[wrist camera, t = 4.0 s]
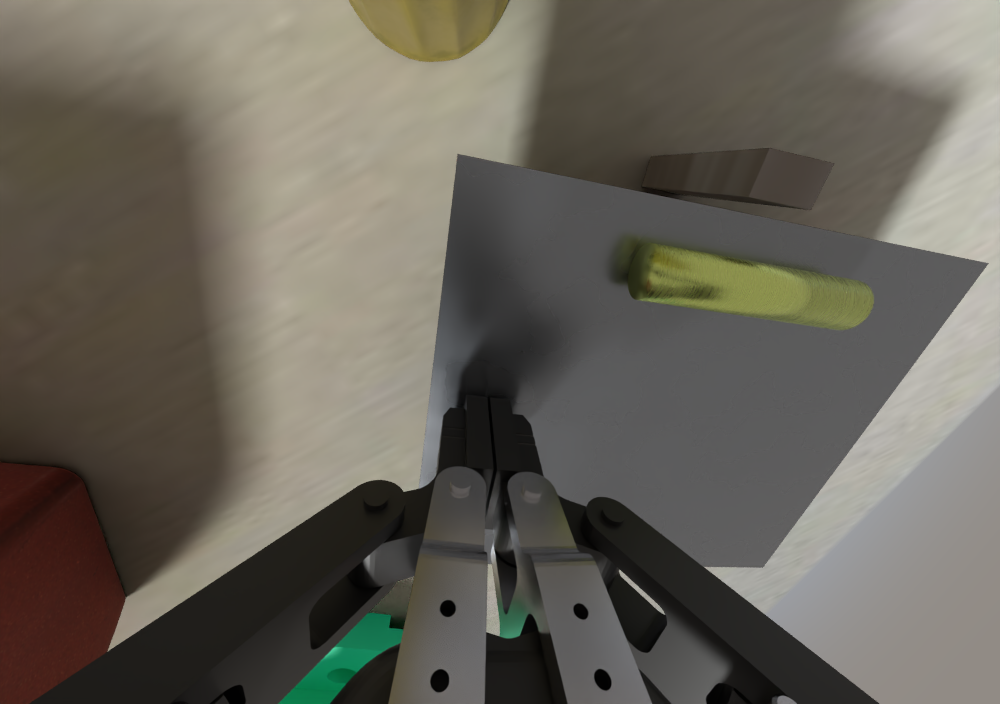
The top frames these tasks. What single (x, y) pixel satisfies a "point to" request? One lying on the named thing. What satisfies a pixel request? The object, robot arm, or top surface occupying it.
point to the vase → (430, 25)
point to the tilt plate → (676, 347)
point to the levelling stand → (741, 176)
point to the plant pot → (51, 581)
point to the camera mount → (345, 660)
